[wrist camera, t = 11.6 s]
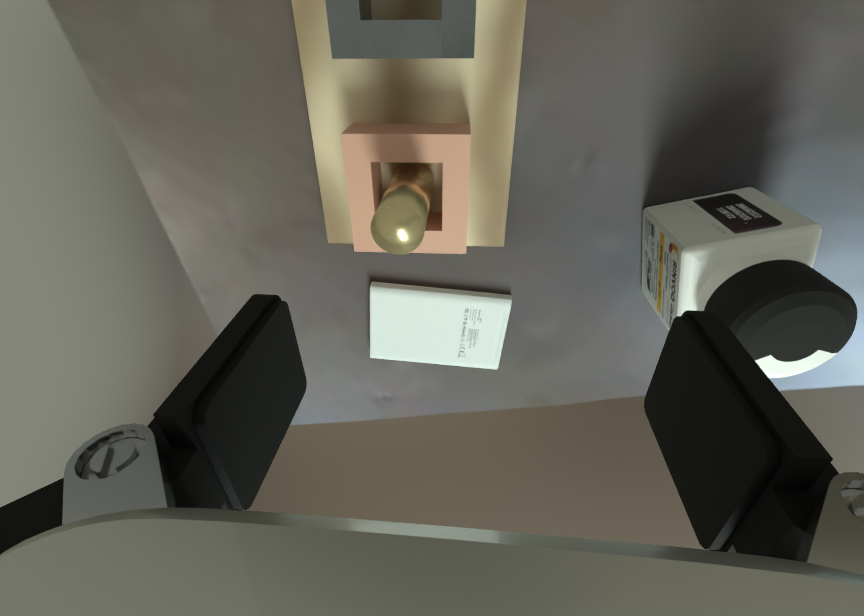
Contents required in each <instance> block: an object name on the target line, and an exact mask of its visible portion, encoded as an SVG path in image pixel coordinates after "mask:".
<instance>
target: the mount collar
mask: <svg viewBox="0 0 864 616" xmlns="http://www.w3.org/2000/svg"><path fill="white" fill-rule="evenodd" d="M325 3H326V11H327V20H328V28H329V37H330V45H331V54H332V59H432V58H474V46H475V22H476V0H442V20H372V13H371V0H325Z"/></svg>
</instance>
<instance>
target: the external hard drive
mask: <svg viewBox="0 0 864 616" xmlns="http://www.w3.org/2000/svg"><path fill="white" fill-rule="evenodd" d="M511 304H512V298H511V295H505V294H495V293H486V292H476V291H466V290H455V289H445V288H435V287H424V286H414V285H404V284H394V283H383V282H373V281H372V282H371V285H370V357H371V358H380V359H390V360H401V361H412V362H423V363H433V364H444V365H454V366H465V367H477V368H487V369H498V365H499V360H500V356H501V351H502V346H503V341H504V337H505V332H506V327H507V323H508V318H509V313H510V309H511Z"/></svg>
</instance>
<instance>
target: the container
mask: <svg viewBox="0 0 864 616" xmlns="http://www.w3.org/2000/svg"><path fill="white" fill-rule="evenodd" d="M821 234H822V227H821V226H820V225H819V224H817V223H815V222H814V221H812V220H810V219H808V218H807V217H805V216H803V215H801V214H799V213H798V212H796V211H794V210H792V209H790V208H789V207H787V206H785V205H783V204H782V203H780V202H778V201H776V200H774V199H773V198H771V197H769V196H767V195H766V194H764V193H762V192H760V191H758V190H757V189H755V188H753V187H747V188H742V189H737V190H732V191H727V192H722V193H716V194H711V195H706V196H701V197H696V198H691V199H686V200H681V201H676V202H671V203H666V204H661V205H656V206H651V207H647V208H645V209H644V210H643V235H642V292H643V293H644V295H645V296H646V298H647V299H648V301H649V302H650V304H651V305H652V307H653V308H654V310H655V311H656V313H657V314H658V316H659V317H660V319H661V320H662V322H663V323H664V325H665V326H666V328H667V329H668V331H669V330H670V328H671V325H672V322H673V320H674V318H675V317H677V316H681V315H682V314H683V313H684V312H685V311H687V310H692V311H713V312H716V313H717V314H718V315H719V316H720V318H721V319H722V320H723V321H724V323H725V324H726V325H727V327H728V328H729V329H730V330H731V332H732V333H733V334H734V335H735V337H736V338H737V339H738V340H739V342H740V343H741V344H742V345H743V347H744V348H745V349H746V350H747V352H748V353H749V354H750V355H751V357H752V358H753V359H754V360H755V362H756V363H757V364H758V365H759V367H760V368H761V369H762V370H763V372H764V373H765V374H766V375H767V377H768V378H780V377H787V376H793V375H796V374H800V373H803V372H805V371H808V370H810V369H813V368H815V367H817V366H819V365H821V364H822V363H824V362H826V361H827V360H829V359H830V358H831V357H833V356H834V355H835V354H836V353H838V352H839V351H840V350H841V349H842V348H843V347H844V345H845V344H846V343H847V342H848V340H849V339H850V337H851V336H852V334H853V331H854V329H855V325H856V320H857V307H856V304H855V302H854V300H853V298H852V297H851V296H850V295H849V294H848V293H847V292H846V291H844V290H843V289H841V288H840V287H839V286H837V285H836V284H834V283H833V282H831V281H830V280H829V279H827V278H826V277H824V276H823V275H821V274H820V273H818V272H817V271H816V270H814V269H813V265H814V261H815V257H816V253H817V250H818V246H819V242H820V238H821Z"/></svg>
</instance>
